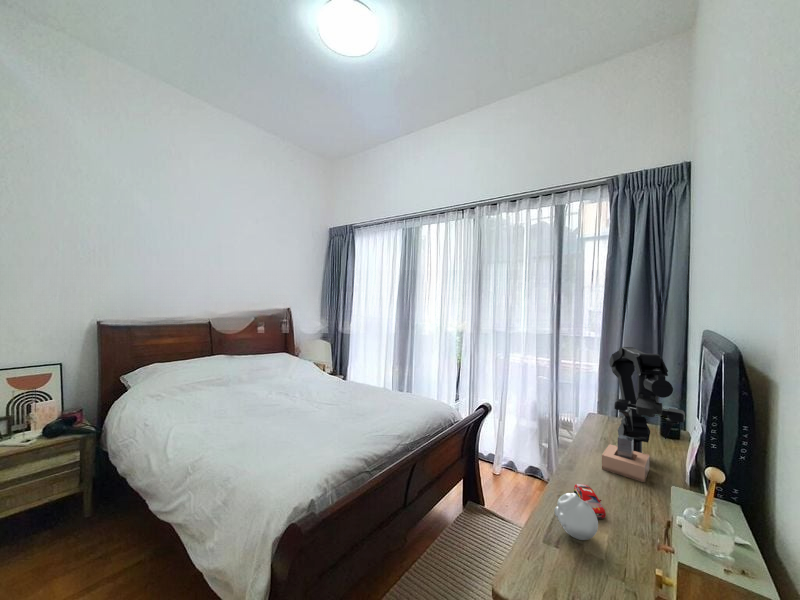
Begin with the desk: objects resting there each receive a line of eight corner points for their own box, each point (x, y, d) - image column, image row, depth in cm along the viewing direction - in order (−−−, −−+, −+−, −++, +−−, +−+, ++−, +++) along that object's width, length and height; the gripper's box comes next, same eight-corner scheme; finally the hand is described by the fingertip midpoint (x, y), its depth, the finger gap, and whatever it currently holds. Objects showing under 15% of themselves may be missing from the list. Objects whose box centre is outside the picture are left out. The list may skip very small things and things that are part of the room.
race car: (608, 523, 84) (608, 508, 84) (585, 519, 85) (585, 505, 85) (591, 494, 96) (591, 481, 96) (572, 491, 98) (572, 478, 98)
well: (609, 457, 119) (609, 444, 119) (649, 469, 111) (649, 455, 111) (601, 469, 111) (601, 454, 111) (644, 482, 102) (644, 467, 103)
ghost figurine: (562, 517, 85) (562, 480, 85) (602, 536, 78) (602, 496, 78) (548, 533, 79) (549, 493, 79) (591, 556, 72) (591, 512, 72)
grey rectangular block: (619, 462, 114) (619, 434, 114) (633, 466, 111) (633, 437, 111) (617, 466, 111) (617, 437, 111) (631, 470, 108) (631, 441, 108)
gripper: (611, 388, 110) (611, 433, 110) (682, 400, 97) (683, 451, 97) (617, 383, 118) (617, 425, 118) (684, 393, 105) (684, 440, 105)
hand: (648, 434), depth 109 cm, fingers open, 9 cm apart
